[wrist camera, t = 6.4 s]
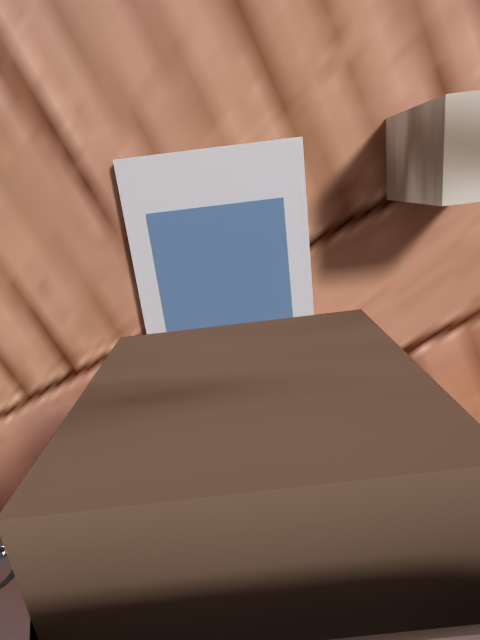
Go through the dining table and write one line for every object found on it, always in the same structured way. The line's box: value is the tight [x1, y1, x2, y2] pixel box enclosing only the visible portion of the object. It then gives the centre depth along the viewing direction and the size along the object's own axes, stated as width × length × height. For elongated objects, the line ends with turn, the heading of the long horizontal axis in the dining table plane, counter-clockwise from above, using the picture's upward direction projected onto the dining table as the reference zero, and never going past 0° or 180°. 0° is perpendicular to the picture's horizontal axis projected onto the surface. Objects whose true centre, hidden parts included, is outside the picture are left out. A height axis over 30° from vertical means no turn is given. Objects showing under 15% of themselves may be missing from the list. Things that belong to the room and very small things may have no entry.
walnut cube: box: [0, 310, 480, 640], centre depth 9 cm, size 6×6×6 cm
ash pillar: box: [386, 90, 480, 206], centre depth 24 cm, size 5×5×8 cm
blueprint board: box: [113, 137, 314, 334], centre depth 29 cm, size 16×12×1 cm
